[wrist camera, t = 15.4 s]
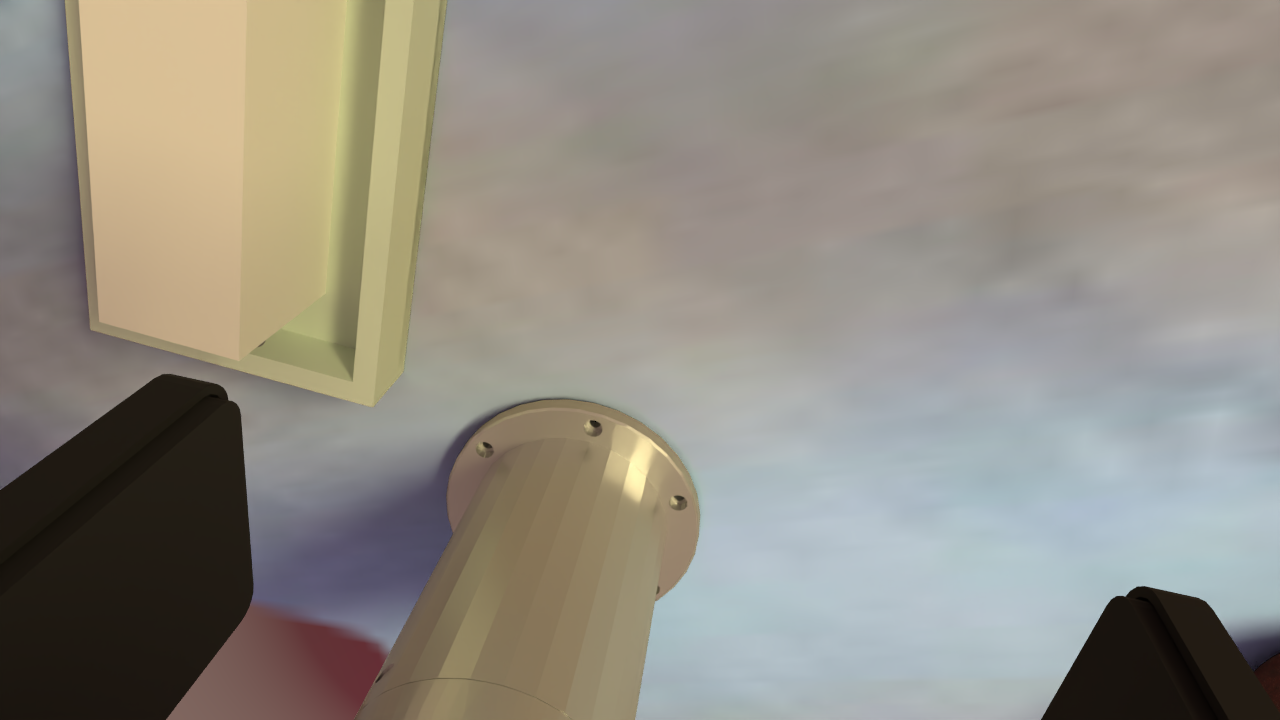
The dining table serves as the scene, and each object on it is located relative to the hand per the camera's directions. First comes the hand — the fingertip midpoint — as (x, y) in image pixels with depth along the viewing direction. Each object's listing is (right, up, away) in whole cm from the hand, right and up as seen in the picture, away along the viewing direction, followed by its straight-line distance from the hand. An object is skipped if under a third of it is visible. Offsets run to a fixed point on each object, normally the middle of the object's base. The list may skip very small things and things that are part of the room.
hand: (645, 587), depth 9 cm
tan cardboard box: (-15, +12, +26) cm, 32 cm away
